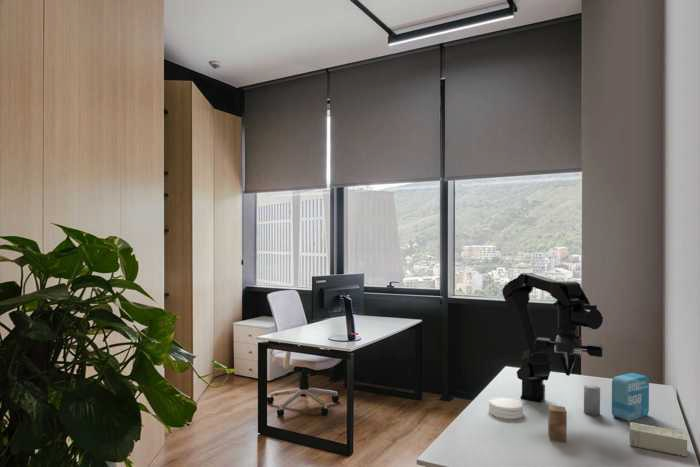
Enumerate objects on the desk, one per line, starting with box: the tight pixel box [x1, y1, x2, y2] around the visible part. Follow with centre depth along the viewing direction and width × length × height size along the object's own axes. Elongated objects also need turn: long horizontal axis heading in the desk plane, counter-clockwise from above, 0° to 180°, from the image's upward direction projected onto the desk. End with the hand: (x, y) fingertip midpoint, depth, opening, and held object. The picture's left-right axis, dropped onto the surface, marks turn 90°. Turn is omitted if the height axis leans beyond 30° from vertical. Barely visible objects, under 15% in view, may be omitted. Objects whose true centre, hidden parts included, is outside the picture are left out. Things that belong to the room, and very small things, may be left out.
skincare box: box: [629, 421, 688, 457], centre depth 119 cm, size 6×4×12 cm
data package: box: [611, 372, 650, 422], centre depth 141 cm, size 12×4×12 cm, turn 120°
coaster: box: [488, 396, 524, 420], centre depth 142 cm, size 10×10×4 cm
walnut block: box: [547, 404, 568, 444], centre depth 124 cm, size 4×4×8 cm
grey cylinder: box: [583, 384, 601, 417], centre depth 143 cm, size 4×4×8 cm
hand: (568, 375), depth 141 cm, fingers closed
